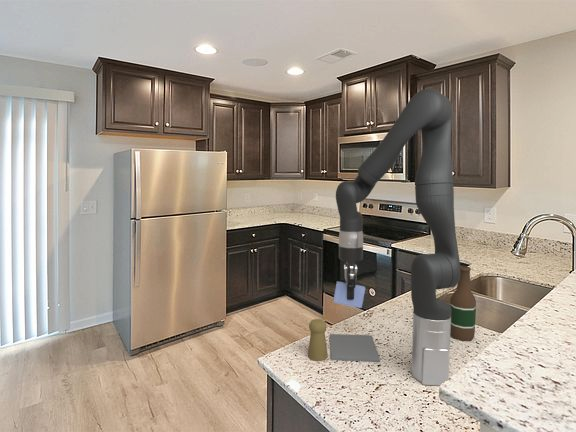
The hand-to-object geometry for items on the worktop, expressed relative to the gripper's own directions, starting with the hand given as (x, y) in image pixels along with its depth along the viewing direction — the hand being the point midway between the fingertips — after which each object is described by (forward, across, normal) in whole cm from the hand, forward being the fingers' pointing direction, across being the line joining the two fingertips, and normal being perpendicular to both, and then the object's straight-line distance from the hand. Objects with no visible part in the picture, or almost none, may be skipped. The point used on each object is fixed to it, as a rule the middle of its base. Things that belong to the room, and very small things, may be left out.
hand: (350, 297), depth 109 cm
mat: (+15, -3, -1) cm, 15 cm away
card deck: (+2, 0, +1) cm, 2 cm away
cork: (+15, -9, +10) cm, 21 cm away
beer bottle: (+15, +8, -38) cm, 41 cm away
